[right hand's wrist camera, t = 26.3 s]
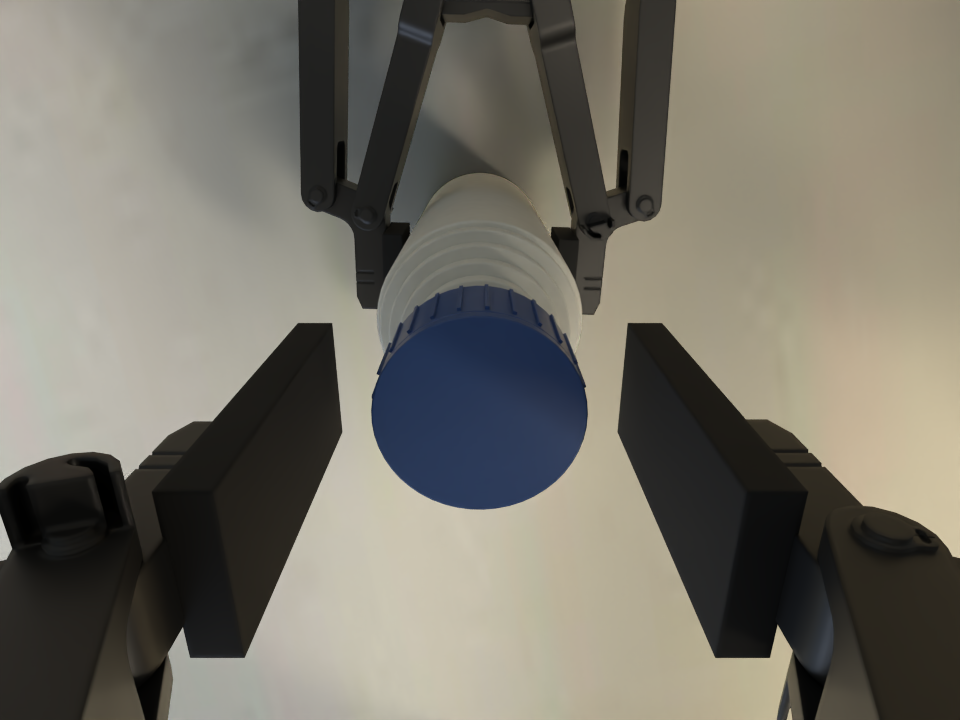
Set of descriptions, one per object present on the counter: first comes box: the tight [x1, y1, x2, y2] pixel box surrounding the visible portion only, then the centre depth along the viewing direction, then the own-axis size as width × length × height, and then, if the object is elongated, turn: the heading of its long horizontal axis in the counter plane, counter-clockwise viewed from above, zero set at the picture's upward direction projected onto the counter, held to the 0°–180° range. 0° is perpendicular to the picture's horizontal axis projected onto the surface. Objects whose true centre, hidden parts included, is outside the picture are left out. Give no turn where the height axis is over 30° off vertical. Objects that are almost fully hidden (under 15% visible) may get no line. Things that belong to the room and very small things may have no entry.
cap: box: [371, 284, 588, 509], centre depth 13 cm, size 4×4×2 cm
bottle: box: [377, 173, 582, 354], centre depth 22 cm, size 6×6×20 cm
